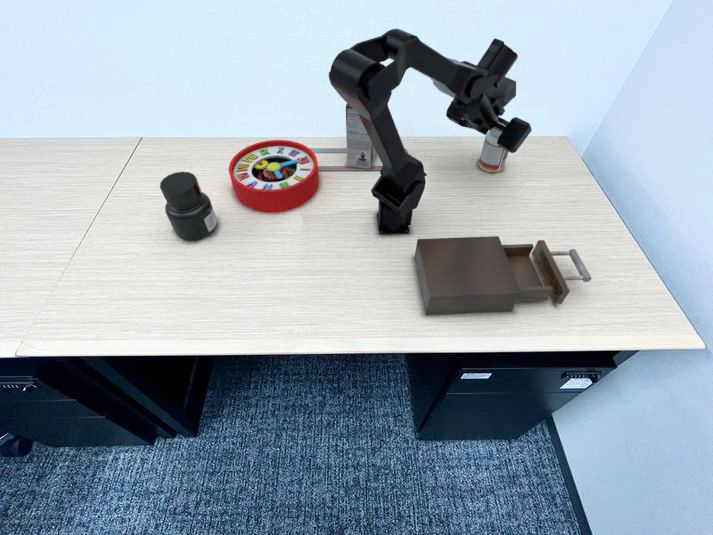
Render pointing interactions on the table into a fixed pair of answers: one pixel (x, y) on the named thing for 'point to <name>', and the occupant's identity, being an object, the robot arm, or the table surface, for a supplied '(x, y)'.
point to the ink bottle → (188, 207)
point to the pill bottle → (492, 152)
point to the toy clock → (274, 175)
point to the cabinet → (465, 276)
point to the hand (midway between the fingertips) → (496, 136)
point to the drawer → (542, 271)
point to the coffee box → (358, 141)
